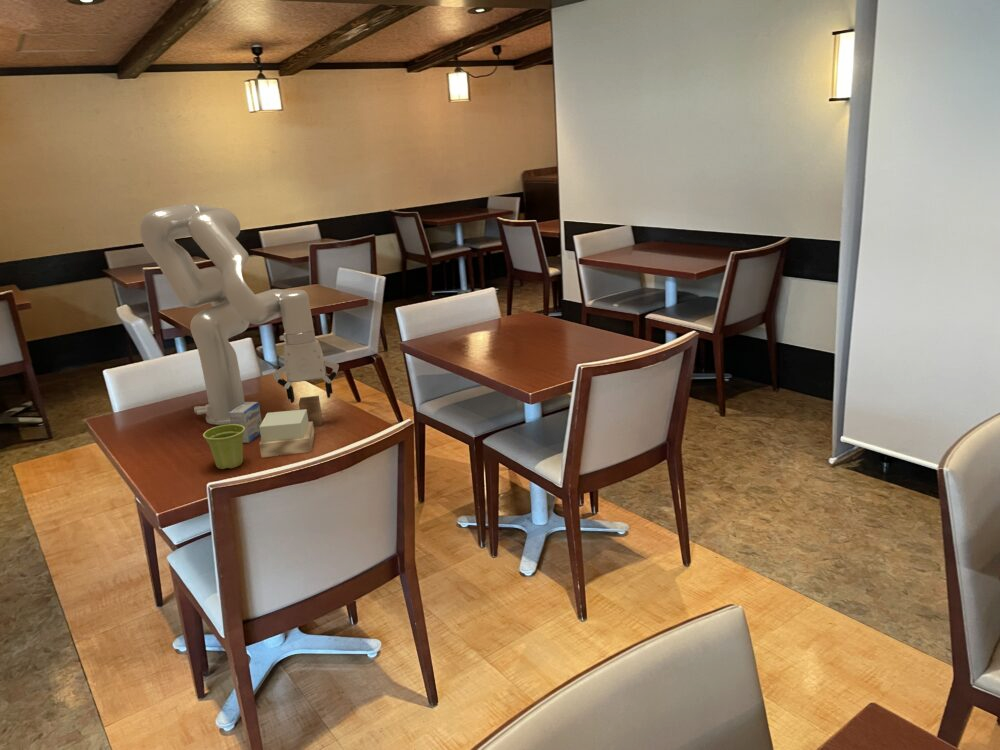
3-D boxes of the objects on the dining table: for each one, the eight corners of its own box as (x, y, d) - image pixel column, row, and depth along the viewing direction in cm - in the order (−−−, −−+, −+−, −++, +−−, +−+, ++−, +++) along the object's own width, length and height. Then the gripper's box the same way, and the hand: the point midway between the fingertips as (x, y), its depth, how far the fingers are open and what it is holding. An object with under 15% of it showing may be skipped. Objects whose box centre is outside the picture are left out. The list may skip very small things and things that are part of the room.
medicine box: (249, 443, 193) (243, 412, 190) (233, 443, 194) (227, 412, 191) (264, 431, 200) (259, 401, 198) (249, 431, 201) (243, 401, 199)
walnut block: (302, 428, 202) (298, 403, 199) (303, 421, 206) (300, 397, 204) (321, 425, 202) (317, 401, 200) (322, 419, 207) (318, 395, 205)
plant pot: (234, 453, 187) (228, 421, 185) (258, 460, 182) (252, 427, 179) (201, 467, 180) (194, 434, 177) (225, 475, 175) (219, 441, 172)
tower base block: (261, 459, 184) (259, 444, 183) (268, 441, 195) (265, 426, 194) (311, 453, 186) (309, 438, 184) (314, 435, 197) (312, 421, 196)
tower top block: (261, 442, 184) (259, 426, 183) (269, 427, 194) (267, 412, 192) (303, 438, 185) (300, 423, 184) (308, 423, 194) (306, 409, 193)
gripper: (264, 345, 192) (276, 407, 197) (333, 336, 194) (342, 398, 199) (268, 338, 199) (279, 398, 204) (334, 330, 201) (343, 390, 206)
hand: (311, 398), depth 202 cm, fingers open, 9 cm apart
